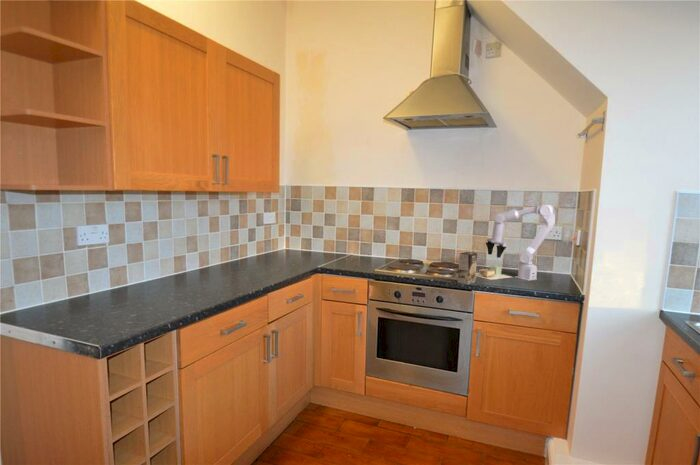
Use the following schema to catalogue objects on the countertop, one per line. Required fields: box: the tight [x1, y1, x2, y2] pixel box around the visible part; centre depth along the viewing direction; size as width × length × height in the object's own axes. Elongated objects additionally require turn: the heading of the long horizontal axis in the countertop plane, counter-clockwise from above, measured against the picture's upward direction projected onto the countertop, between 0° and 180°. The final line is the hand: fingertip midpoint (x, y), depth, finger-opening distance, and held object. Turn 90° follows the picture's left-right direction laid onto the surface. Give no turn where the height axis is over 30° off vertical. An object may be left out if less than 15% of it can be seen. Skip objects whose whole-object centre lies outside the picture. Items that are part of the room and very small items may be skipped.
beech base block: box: [478, 268, 495, 279], centre depth 234 cm, size 6×6×4 cm
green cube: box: [489, 265, 503, 275], centre depth 242 cm, size 4×4×4 cm
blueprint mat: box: [476, 272, 512, 281], centre depth 237 cm, size 16×19×1 cm
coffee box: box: [457, 251, 478, 286], centre depth 218 cm, size 9×6×16 cm
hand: (494, 255), depth 242 cm, fingers open, 7 cm apart
